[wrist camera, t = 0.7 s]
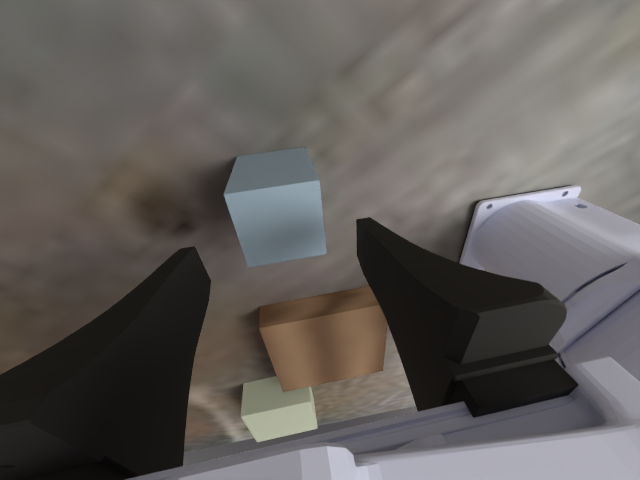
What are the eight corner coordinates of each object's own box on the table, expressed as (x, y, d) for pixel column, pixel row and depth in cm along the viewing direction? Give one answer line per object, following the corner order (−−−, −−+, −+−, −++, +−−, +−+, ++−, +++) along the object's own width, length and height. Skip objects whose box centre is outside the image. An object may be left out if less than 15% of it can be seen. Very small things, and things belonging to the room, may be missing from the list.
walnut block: (378, 280, 26) (389, 303, 24) (374, 348, 33) (383, 370, 31) (260, 302, 25) (259, 328, 23) (281, 367, 32) (282, 392, 30)
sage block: (306, 367, 33) (310, 401, 29) (313, 396, 37) (317, 428, 34) (243, 380, 32) (240, 416, 29) (258, 408, 37) (257, 442, 33)
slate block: (305, 146, 17) (319, 180, 12) (312, 206, 20) (326, 253, 15) (237, 156, 17) (223, 194, 12) (253, 215, 19) (248, 267, 14)
